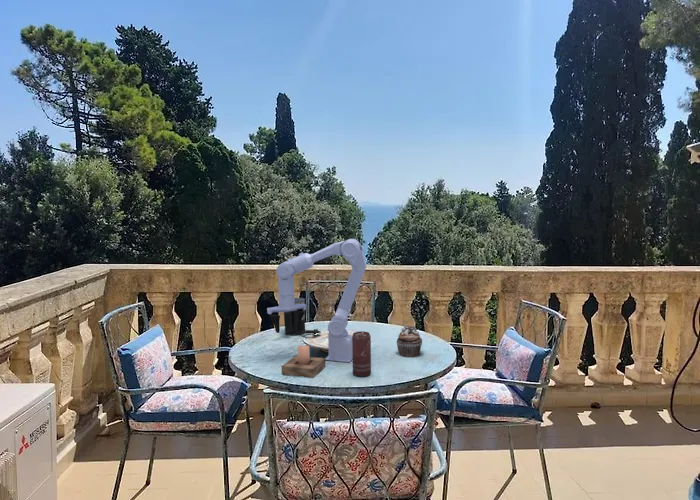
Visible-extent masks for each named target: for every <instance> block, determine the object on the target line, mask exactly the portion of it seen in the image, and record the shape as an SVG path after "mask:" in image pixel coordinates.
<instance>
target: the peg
mask: <svg viewBox="0 0 700 500" xmlns="http://www.w3.org/2000/svg"><path fill="white" fill-rule="evenodd" d="M310 354H311V353H310V345H307V344H306V345H305V344H302V345H299V346H297V356H298V364H299V365H309V364H310V357H311V356H310Z"/></svg>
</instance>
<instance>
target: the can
mask: <svg viewBox="0 0 700 500" xmlns="http://www.w3.org/2000/svg"><path fill="white" fill-rule="evenodd" d="M371 337H372V336H371V334H370V333H369V332H368V331H363V330H362V331H355V332H353V333H352V355H353V359H352V374H353V375H354V376H355V377H357V378H366V377H369V376H370V375H371V374H372V346H371V345H372V338H371Z"/></svg>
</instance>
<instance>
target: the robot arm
mask: <svg viewBox="0 0 700 500" xmlns="http://www.w3.org/2000/svg"><path fill="white" fill-rule="evenodd" d="M331 256H338V257H340V256H343V257H344V258H345V259H346V260H347V261H348V263H349V265H350V266H351V268H352V269H351V271H350V274H349V277H348V279H347V283H346V285H345V287H344V290H343V293H342V296H341V299H340V300H339V304H338V306H337V309H336V311H335V313H334V315H333V316H332V317H331V319H330V321H329V322H328V324H327V331H328V333H327V334H328V336H327V337H328V338H327V339H328V343H327V344H328V346H327V347H328V355H327V356H326V357H325V361H332V362H341V363H342V362H343V363H344V362H345V363H350V362H351V361H353V355H352V336H353V334H349V332H348V330H347V329H346V328H347V326H348V324H349V322H348V318H349V314H350V311H351V308H352V306H353V304H354V301H355V298H356V295H357V292H358V290H359V289H360V285H361V283H362V279H363V277H364V274H365V271H366V269H367V262H366V258H365V253H364V248H363V246H362V244H361V243H360V242H359V240H357V239H355V238H349V239H347V240H342V241H338V242H334V243H332V244H330V245H328V246H326V247H324V248H322V249H320V250H317V251H316V252H314V253H307V252H305V253H304V252H300V253H299V254H298V255H297V256H295V257H293V258H288V259H287V260H286V261H283V262H282V263H280V264H279V265H277V267H276V275H277V276H278V281H277V282H278V283H277V285H278V286H277V287H278V306H277V305H276V306H273V307H267V308H266V311H267V312H266V313H267V314H268V315H269V317H270V318H271V320H272V323H273V325H274V330H275V333H277V334H279V333H280V331H281V329H280V319H281V315H279V313H284V312H288V311H294V316H295V329H296V330H299V326H300V323H301V320H302V317H303V315H304V313H305V312H306V310H307V304H306V303H304V304H295V301H294V298H295V280H294V279H295V275H296V274H300V273H301V272H302V273H303V272H305V271H307V270H308V269H311V268H312V267H313V266H314V263H317V262H318V261H321V260H324V259H326V258H329V257H331ZM303 310H305V311H303Z"/></svg>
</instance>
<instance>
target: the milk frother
mask: <svg viewBox="0 0 700 500" xmlns="http://www.w3.org/2000/svg"><path fill="white" fill-rule="evenodd" d="M294 301H295V304H305V302H306V298H303V297H294ZM303 311H305V312H306V310H303ZM305 317H306V314H305V313H304V315H303V317H302V320H301V323H300V326H299V330H296V329H295V316H294V311H288V312H283V320H284V323H283V324H284V334H286V335H289V336H300V335H304V334H313V335H314V334H316V333H318V334H321V333H322V331H320V330H319V329H318V328H316V329H315V328H314V329H311V330H310V329H308V330H307V329H306V318H305Z"/></svg>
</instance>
